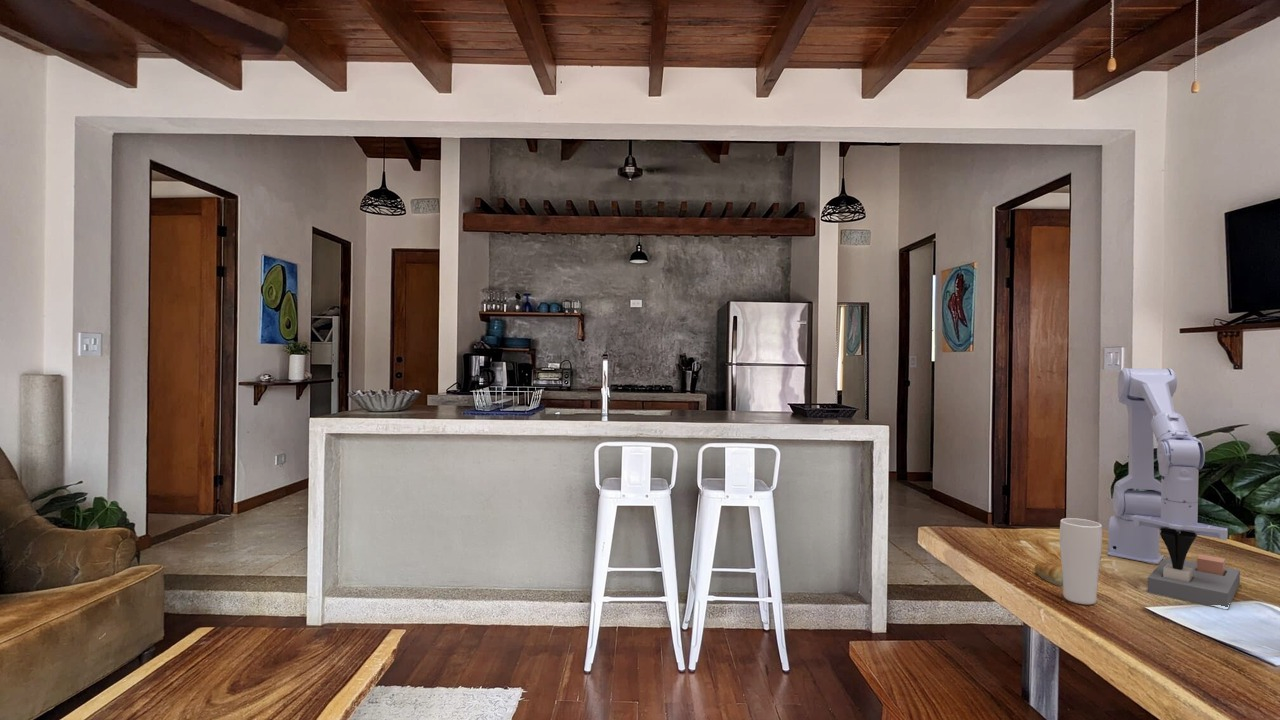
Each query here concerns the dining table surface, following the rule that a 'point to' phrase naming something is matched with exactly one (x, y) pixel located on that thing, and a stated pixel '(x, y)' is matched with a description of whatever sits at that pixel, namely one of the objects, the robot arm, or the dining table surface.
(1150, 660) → the dining table surface
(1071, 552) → the drinking glass
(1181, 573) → the white key
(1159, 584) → the key panel
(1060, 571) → the pastry
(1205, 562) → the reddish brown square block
